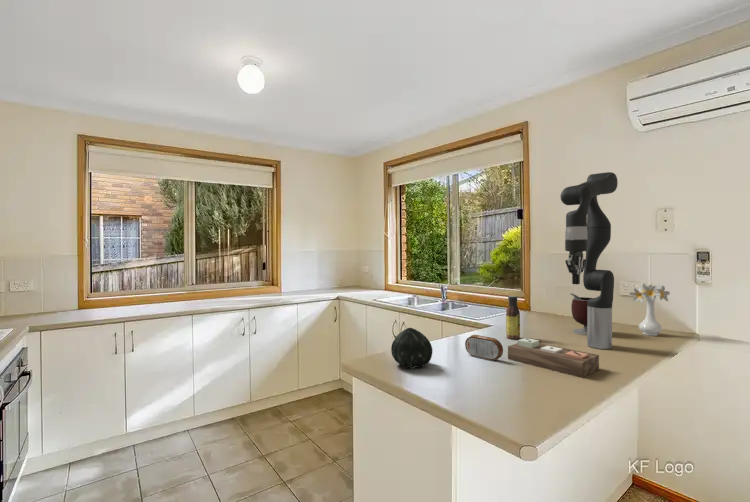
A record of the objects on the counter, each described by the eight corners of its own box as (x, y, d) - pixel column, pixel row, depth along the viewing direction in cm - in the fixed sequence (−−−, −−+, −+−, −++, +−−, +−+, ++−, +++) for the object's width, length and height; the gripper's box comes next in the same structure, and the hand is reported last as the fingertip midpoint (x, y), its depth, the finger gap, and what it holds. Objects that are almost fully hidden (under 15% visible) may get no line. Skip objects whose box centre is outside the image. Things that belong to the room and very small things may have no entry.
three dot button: (572, 360, 137) (572, 350, 137) (588, 364, 132) (588, 353, 132) (565, 363, 133) (565, 352, 133) (581, 367, 129) (581, 356, 129)
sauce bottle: (521, 340, 175) (521, 297, 175) (507, 339, 177) (507, 296, 176) (518, 336, 182) (518, 295, 182) (505, 336, 183) (505, 295, 183)
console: (526, 352, 155) (527, 340, 155) (598, 369, 134) (598, 355, 134) (507, 359, 146) (507, 346, 146) (581, 377, 125) (581, 362, 125)
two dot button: (525, 346, 151) (525, 337, 151) (539, 349, 146) (539, 340, 146) (517, 349, 147) (517, 339, 147) (531, 352, 143) (531, 342, 143)
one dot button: (547, 354, 144) (547, 345, 144) (562, 358, 139) (562, 348, 139) (540, 357, 140) (540, 347, 140) (555, 361, 136) (555, 350, 136)
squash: (423, 342, 149) (402, 316, 145) (446, 354, 136) (423, 325, 131) (399, 370, 145) (376, 344, 140) (420, 384, 132) (395, 356, 127)
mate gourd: (591, 329, 197) (591, 291, 197) (609, 335, 183) (609, 294, 183) (562, 330, 196) (562, 291, 196) (578, 336, 182) (578, 295, 182)
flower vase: (625, 334, 187) (625, 283, 187) (646, 330, 195) (646, 281, 195) (655, 339, 175) (655, 286, 175) (675, 335, 184) (676, 284, 184)
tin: (503, 361, 144) (503, 339, 143) (499, 363, 141) (499, 340, 141) (467, 353, 154) (467, 332, 154) (463, 355, 151) (463, 334, 151)
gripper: (573, 239, 151) (573, 282, 151) (558, 238, 143) (557, 284, 143) (593, 238, 145) (593, 283, 146) (578, 238, 137) (578, 286, 137)
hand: (575, 284), depth 144 cm, fingers closed
